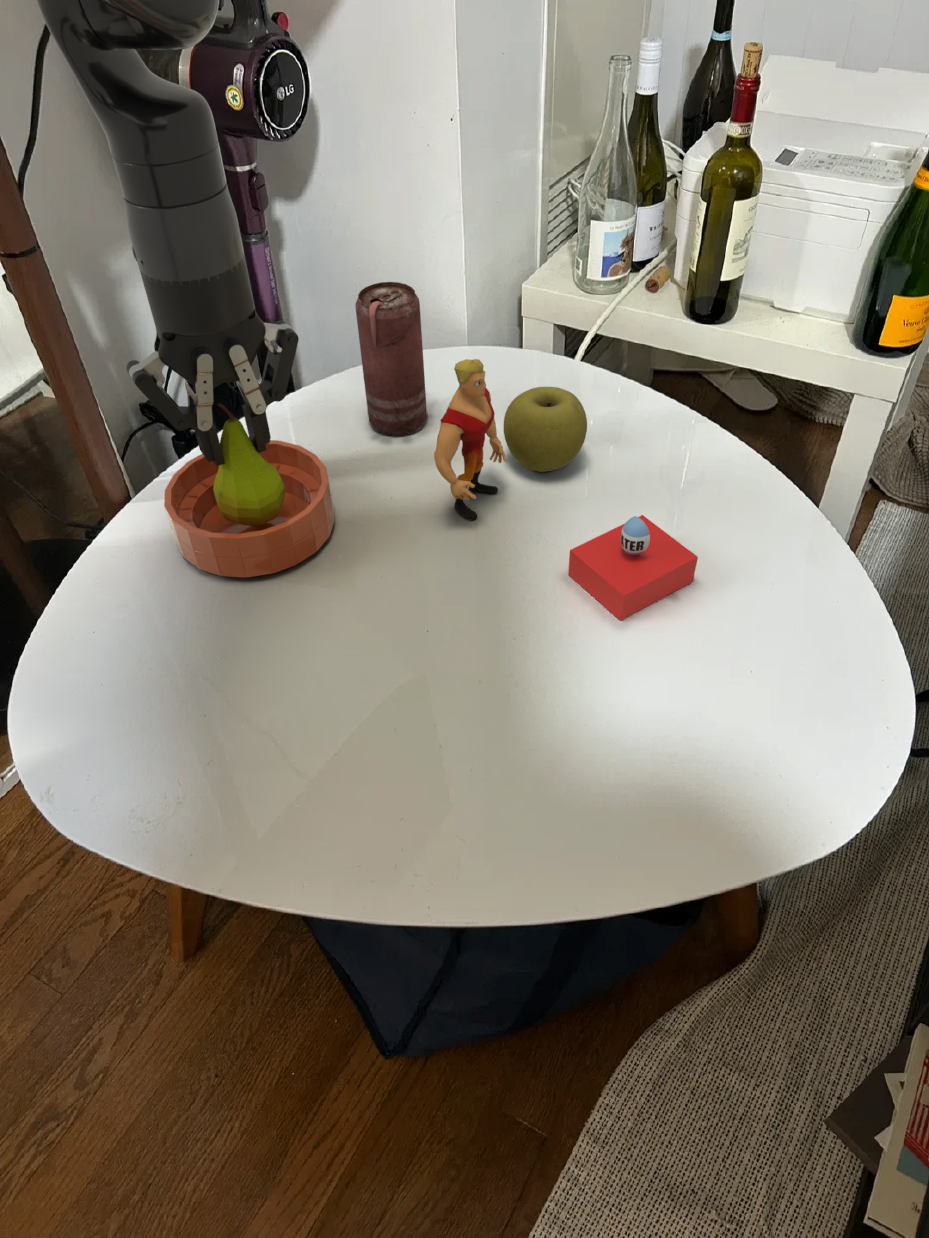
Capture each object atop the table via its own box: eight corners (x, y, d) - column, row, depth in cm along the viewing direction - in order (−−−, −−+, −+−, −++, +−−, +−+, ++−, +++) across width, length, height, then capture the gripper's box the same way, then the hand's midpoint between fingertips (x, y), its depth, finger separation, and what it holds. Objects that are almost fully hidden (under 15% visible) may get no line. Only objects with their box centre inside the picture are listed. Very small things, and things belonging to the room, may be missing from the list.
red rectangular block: (620, 620, 75) (627, 562, 70) (568, 574, 79) (572, 517, 75) (692, 581, 78) (704, 523, 73) (639, 539, 82) (646, 481, 78)
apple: (574, 491, 87) (579, 427, 82) (493, 477, 89) (493, 413, 84) (591, 446, 92) (597, 383, 87) (514, 434, 94) (515, 372, 89)
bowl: (207, 603, 78) (194, 559, 74) (159, 514, 87) (144, 470, 83) (360, 546, 82) (354, 501, 79) (299, 466, 91) (291, 423, 88)
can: (360, 435, 95) (344, 307, 85) (379, 402, 99) (365, 276, 89) (417, 442, 94) (407, 312, 84) (433, 408, 98) (426, 281, 88)
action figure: (468, 537, 83) (463, 390, 72) (433, 526, 84) (423, 380, 74) (513, 480, 89) (515, 336, 78) (480, 470, 90) (477, 327, 79)
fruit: (304, 518, 83) (283, 402, 75) (246, 550, 80) (218, 432, 72) (263, 488, 87) (239, 373, 78) (206, 517, 84) (175, 401, 75)
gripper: (106, 298, 62) (170, 504, 74) (301, 249, 66) (332, 450, 78) (79, 258, 66) (144, 457, 78) (263, 215, 71) (298, 410, 83)
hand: (238, 453), depth 78 cm, fingers closed on fruit, 3 cm apart
